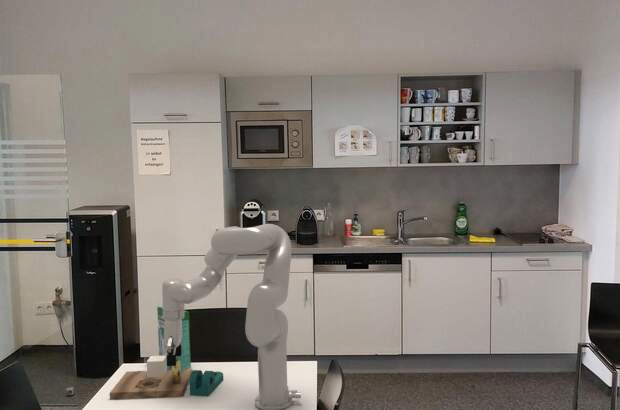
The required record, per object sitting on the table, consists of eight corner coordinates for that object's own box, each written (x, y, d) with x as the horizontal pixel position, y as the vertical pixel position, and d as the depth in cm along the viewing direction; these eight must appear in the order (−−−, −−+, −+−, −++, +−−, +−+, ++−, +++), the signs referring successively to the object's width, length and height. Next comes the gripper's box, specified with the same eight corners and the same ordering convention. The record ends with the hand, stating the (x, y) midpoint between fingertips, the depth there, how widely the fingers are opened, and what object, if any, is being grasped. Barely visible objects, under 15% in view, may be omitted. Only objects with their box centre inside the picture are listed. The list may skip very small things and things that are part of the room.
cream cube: (163, 377, 201) (163, 361, 201) (147, 377, 201) (146, 361, 201) (167, 371, 207) (166, 355, 207) (151, 371, 207) (150, 356, 207)
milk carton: (191, 367, 217) (188, 306, 216) (170, 373, 211) (167, 310, 210) (179, 362, 224) (177, 302, 222) (159, 368, 218) (157, 306, 216)
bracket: (208, 397, 189) (207, 375, 188) (190, 396, 190) (189, 374, 190) (226, 377, 206) (225, 357, 206) (209, 376, 208) (208, 356, 207)
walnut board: (192, 375, 209) (192, 369, 209) (183, 397, 189) (182, 390, 189) (126, 378, 208) (126, 371, 208) (110, 399, 188) (109, 392, 188)
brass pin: (181, 380, 197) (180, 359, 197) (180, 384, 194) (179, 362, 194) (173, 381, 197) (172, 359, 196) (171, 384, 194) (170, 362, 194)
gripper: (168, 307, 203) (168, 352, 204) (157, 320, 185) (158, 369, 186) (188, 307, 203) (189, 352, 204) (179, 320, 186) (180, 369, 187)
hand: (174, 360), depth 195 cm, fingers open, 9 cm apart
